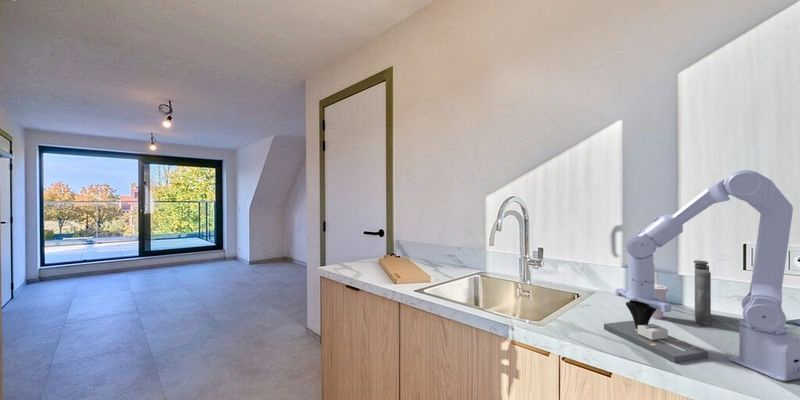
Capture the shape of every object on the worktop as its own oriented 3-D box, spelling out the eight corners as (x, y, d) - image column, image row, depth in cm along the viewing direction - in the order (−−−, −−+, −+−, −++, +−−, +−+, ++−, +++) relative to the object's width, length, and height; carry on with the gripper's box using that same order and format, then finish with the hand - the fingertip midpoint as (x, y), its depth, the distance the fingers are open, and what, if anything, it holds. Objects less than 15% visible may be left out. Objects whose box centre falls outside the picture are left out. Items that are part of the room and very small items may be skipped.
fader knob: (667, 337, 85) (667, 329, 85) (651, 339, 84) (651, 331, 84) (652, 331, 89) (652, 323, 89) (637, 333, 88) (637, 325, 88)
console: (708, 357, 79) (708, 351, 78) (674, 362, 76) (674, 356, 76) (632, 325, 98) (632, 320, 98) (603, 328, 96) (603, 323, 96)
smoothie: (672, 321, 101) (672, 275, 101) (648, 319, 102) (648, 274, 102) (660, 313, 107) (660, 270, 107) (638, 312, 109) (638, 270, 108)
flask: (694, 324, 98) (693, 264, 98) (693, 311, 109) (693, 256, 109) (710, 327, 96) (710, 265, 96) (709, 313, 107) (709, 258, 106)
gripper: (606, 274, 96) (606, 321, 96) (654, 288, 82) (655, 342, 82) (626, 272, 97) (627, 318, 98) (677, 286, 83) (677, 339, 83)
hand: (641, 329), depth 90 cm, fingers closed
